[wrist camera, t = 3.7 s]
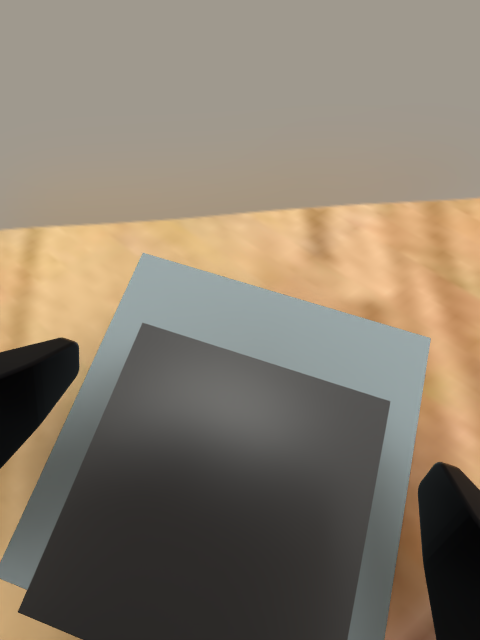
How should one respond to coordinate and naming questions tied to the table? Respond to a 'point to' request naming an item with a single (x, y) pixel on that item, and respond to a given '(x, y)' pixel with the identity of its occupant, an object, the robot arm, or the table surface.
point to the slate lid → (225, 470)
